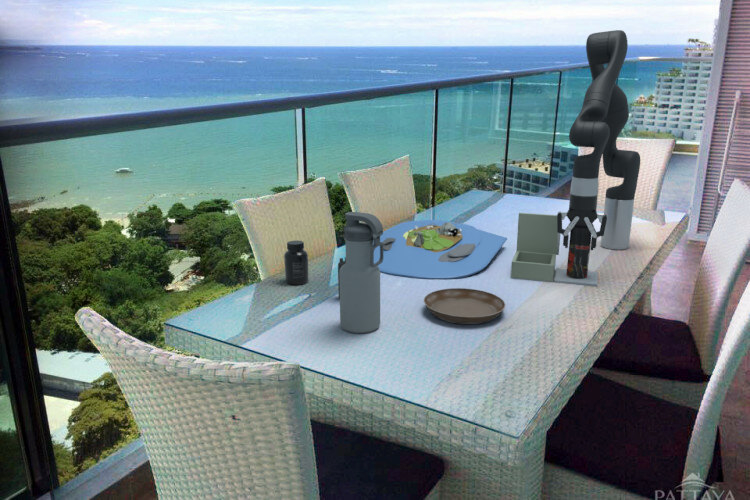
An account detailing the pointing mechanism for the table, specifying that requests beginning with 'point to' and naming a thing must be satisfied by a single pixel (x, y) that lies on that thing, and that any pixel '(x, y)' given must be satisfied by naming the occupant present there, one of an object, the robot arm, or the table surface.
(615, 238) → the robot arm
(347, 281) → the water bottle
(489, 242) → the island diorama
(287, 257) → the supplement bottle
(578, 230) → the deodorant
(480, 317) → the plant saucer
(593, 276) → the mat
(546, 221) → the case
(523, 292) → the table surface
